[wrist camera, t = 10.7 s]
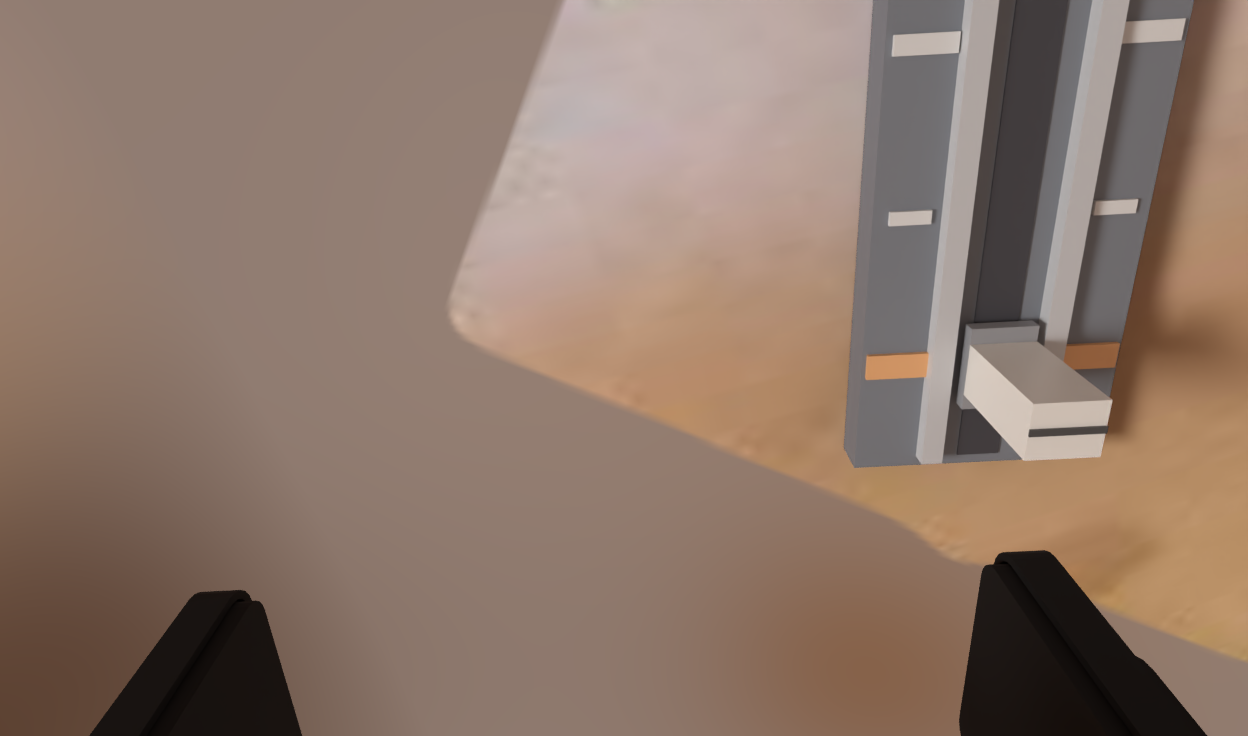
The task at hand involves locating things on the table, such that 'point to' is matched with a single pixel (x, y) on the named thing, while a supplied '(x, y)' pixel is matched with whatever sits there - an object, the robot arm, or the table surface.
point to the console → (999, 200)
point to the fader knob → (1030, 393)
